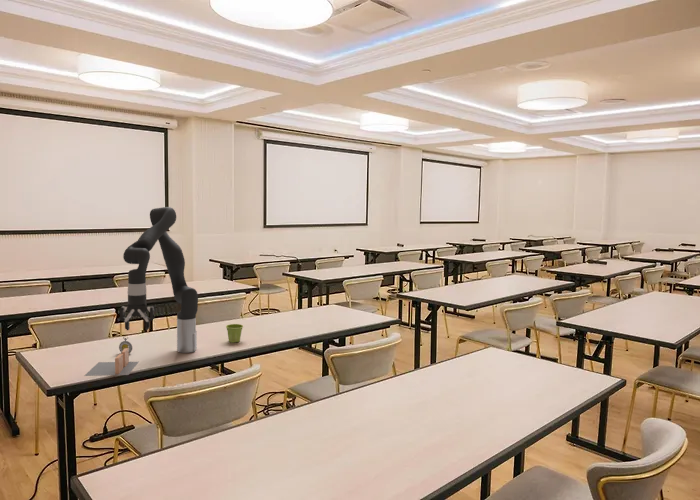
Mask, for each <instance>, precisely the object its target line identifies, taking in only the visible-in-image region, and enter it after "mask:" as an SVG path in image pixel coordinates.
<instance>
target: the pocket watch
mask: <svg viewBox="0 0 700 500" xmlns="http://www.w3.org/2000/svg"><path fill="white" fill-rule="evenodd" d="M122 339H124V340H123V341H121V342H120V343H119V345H118V350H119V351H120V353H121V352H122V351H123V350H124V349H125V348H129V354H130V353H131V352H132V351H133V344H132V343H131V342H130V341H127V340H128V339H129V337H128V336H126V335H124V336H123V337H122Z"/></svg>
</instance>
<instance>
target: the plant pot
mask: <svg viewBox="0 0 700 500" xmlns="http://www.w3.org/2000/svg"><path fill="white" fill-rule="evenodd" d="M225 328H226V331H227V336H228V342H229V343H231V344H233V343H234V344H235V343H239V342H241V336H242V330H243V328H244V325H242V324H239V323H230V324H226V325H225Z"/></svg>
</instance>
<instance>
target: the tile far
mask: <svg viewBox="0 0 700 500" xmlns="http://www.w3.org/2000/svg"><path fill="white" fill-rule="evenodd" d="M120 354H123V367H126V365H127V364H128V363H129V362H130V358H129V356H130V355H129V354H130V353H129V347H128V348H125V349H124V350H123V351H122V352H120Z"/></svg>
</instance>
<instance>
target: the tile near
mask: <svg viewBox="0 0 700 500" xmlns="http://www.w3.org/2000/svg"><path fill="white" fill-rule="evenodd" d="M114 362H115V374H119V373H120V372H121V371H122V370H123V354H121V353H119V354H118V355H117V356H116V357H115V358H114Z"/></svg>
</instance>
